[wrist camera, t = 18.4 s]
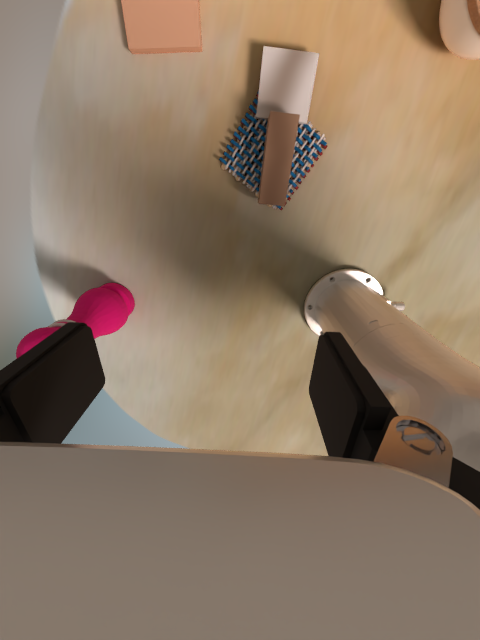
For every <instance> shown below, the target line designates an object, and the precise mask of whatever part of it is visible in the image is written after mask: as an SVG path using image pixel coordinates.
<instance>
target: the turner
mask: <svg viewBox="0 0 480 640" xmlns="http://www.w3.org/2000/svg"><path fill="white" fill-rule="evenodd" d="M318 58H319V53H313V52H306V51H298V50H291V49H283V48H276V47H268V46H264V47H263V56H262V65H261V75H260V85H259V94H258V104H257V114H256V118H258V119H266V120H268V121H267V130H266V138H265V146H264V154H263V163H262V171H261V179H260V188H259V196H258V203H259V204H268V205H277V206H285V202H286V196H287V190H288V184H289V178H290V172H291V166H292V160H293V154H294V148H295V142H296V136H297V130H298V124H306V123H307V119H308V114H309V108H310V103H311V97H312V91H313V86H314V80H315V74H316V69H317V63H318Z"/></svg>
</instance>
